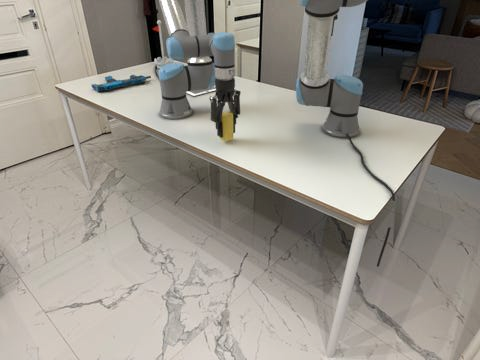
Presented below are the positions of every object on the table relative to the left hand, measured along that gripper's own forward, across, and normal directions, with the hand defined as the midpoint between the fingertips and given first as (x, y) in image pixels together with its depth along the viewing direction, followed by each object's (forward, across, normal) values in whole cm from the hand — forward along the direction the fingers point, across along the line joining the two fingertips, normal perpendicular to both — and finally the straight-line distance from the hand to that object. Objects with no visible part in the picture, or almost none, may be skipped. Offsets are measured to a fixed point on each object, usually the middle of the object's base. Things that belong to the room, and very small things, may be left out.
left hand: (226, 134), depth 139 cm
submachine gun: (+4, -1, +104) cm, 104 cm away
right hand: (-31, +64, +6) cm, 72 cm away
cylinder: (+2, 0, 0) cm, 2 cm away
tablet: (+4, +30, +71) cm, 77 cm away
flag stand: (+4, +39, +120) cm, 126 cm away
